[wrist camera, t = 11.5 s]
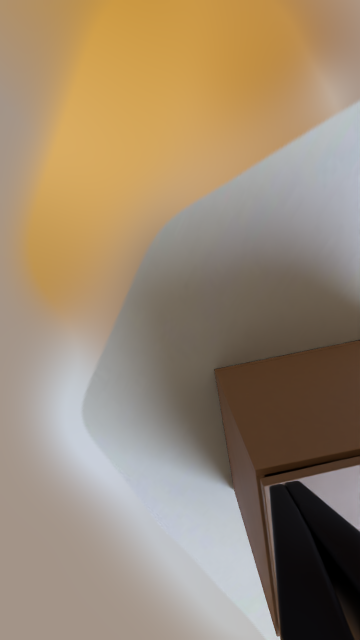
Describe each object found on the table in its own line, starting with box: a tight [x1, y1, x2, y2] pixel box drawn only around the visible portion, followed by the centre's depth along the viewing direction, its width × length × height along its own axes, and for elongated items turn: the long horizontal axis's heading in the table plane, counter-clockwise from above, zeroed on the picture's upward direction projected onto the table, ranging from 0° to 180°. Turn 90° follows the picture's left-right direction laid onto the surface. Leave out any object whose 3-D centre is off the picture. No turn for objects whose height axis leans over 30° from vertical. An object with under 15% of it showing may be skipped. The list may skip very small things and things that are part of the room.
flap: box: [260, 456, 360, 639], centre depth 14 cm, size 7×12×1 cm, turn 10°
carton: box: [214, 340, 360, 636], centre depth 18 cm, size 14×12×10 cm
